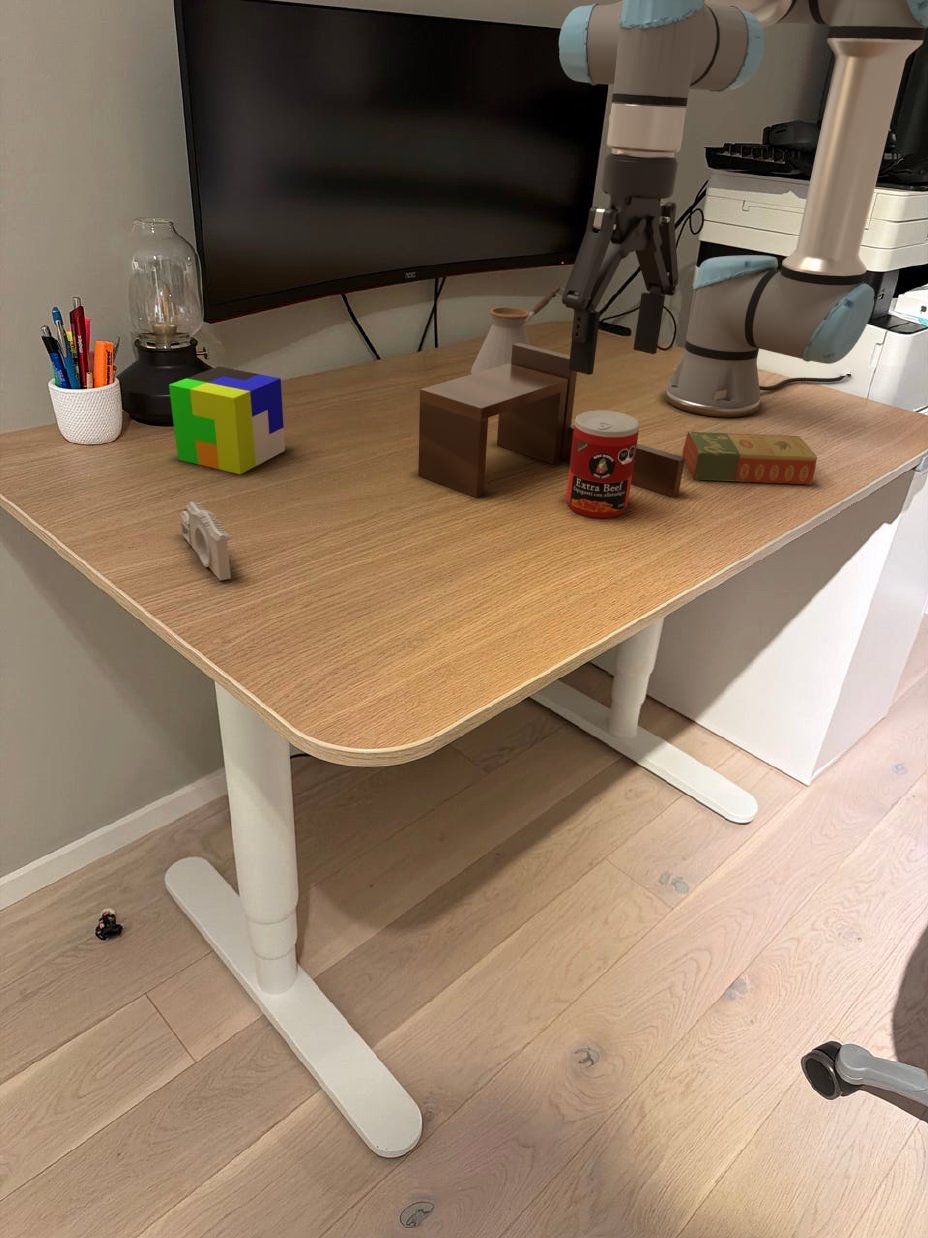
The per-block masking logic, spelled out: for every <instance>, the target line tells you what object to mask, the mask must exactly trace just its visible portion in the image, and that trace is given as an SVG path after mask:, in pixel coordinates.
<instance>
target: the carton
mask: <svg viewBox="0 0 928 1238" xmlns="http://www.w3.org/2000/svg"><path fill="white" fill-rule="evenodd" d="M681 457H683V458H685V461H684V464H686V466H687V468H688V470H689V472H690V474H691V476H692V478H693V479H694V480H696V481H723V482H745V483H746V482H747V483H766V484H767V483H769V484H771V483H772V484H791V485H792V484H793V485H794V484H795V485H811V484H812V483H813V479H814V475H815V472H816V466H817V461H818V457H817V455H816V454H815V452H814V451H813V450H812V449H811V447H810V446H809V445H808V444H807V443H806V442H805V441H804V439H802V437H801V436H798V435H781V434H779V435H778V434H751V433H727V432H704V431H691V430H689V431H687V434H686V437H685V440H684V445H683V449H682V453H681Z"/></svg>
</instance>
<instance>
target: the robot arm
mask: <svg viewBox="0 0 928 1238" xmlns="http://www.w3.org/2000/svg"><path fill="white" fill-rule="evenodd" d="M775 24H806V25H823V26H824V25H827V26H828V25H829V28H828V33H827V40H826V43H827V44H828V46H829V47H830V49H831V50H832V52H833V54H834V57H835V59H834V64H833V69H832V74H831V79H830V83H829V88H828V93H827V96H826V97H827V98H826V102H825V107H824V112H823V118H822V122H821V127H820V132H819V137H818V142H817V147H816V150H815V156H814V161H813V165H812V169H811V170H812V171H811V177H810V180H809V185H808V189H807V195H806V199H805V205H804V208H803V214H802V218H801V224H800V229H799V233H798V239H797V243H796V246H795V247H796V248H795V250H794V251H793V252H792V253H790V255H788V256H786V258H784V259H783V260H782V262H781V268H780V269H778V266H779V263H778V262H779V261H778V258H777V257H775V256H771V255H757V254H756V255H755V254H754V255H753V254H751V255H749V254H747V255H746V254H745V255H727V256H726V255H725V256H717V257H716V256H715V257H711V258H708V259H706V260H704V261H703V262H701V264H700V266H699V267H698V270H697V274H696V279H695V283H694V286H693V296H692V301H691V305H690V306H691V307H690V313H689V318H688V319H689V320H688V325H687V332H686V338H685V345H684V349H683V352H682V353H683V354H682V356H681V357H680V360H679V362H678V363H677V365H676V367H675V369H674V371H673V373H672V375H671V377H670V379H669V381H668V383H667V386H666V391H665V395H664V397H665V401H666V402H667V403H668V404H670V405H671V406H673V407H675V408H677V409H679V410H682V411H685V412H688V413H692V414H697V415H703V416H710V417H718V418H719V417H721V418H723V417H724V418H737V417H738V418H739V417H744V416H745V417H746V416H750V415H752V414H754V413H756V412H758V410H759V408H760V402H761V391H764V392H765V391H766V392H767V391H769V392H770V391H774V390H778V389H779V388H782V387H783V386H785V385H788V384H790V383H791V384H792V383H799V382H802V383H803V382H807V383H809V382H810V383H837V382H840V381H843V380H844V379H845V378H846V376H847V377H852V373H851V374H847V375H846V376H841V375H840V376H837V377H792V378H787V379H784V380H782V381H780V382H779V383H776V384H774V385H770V386H764V385H760V380H759V372H758V356H759V351H760V350H762V351H766V352H767V351H768V352H772V353H776V354H780V355H783V356H789V357H792V358H797V359H801V360H803V361H804V362H807V363H808V362H809V363H810V362H815V363H819V364H825V365H831V364H834V363H837V362H839V361H841V360H843V359H844V358H845V357H846V356H848V354H849V353H850V352H851V351H852V350H853V349H854V347H855V346H856V344H857V343H858V342H859V340H860V338H861V337H862V335H863V334H864V331H865V329H866V328H867V325H868V323H869V321H870V318H871V316H872V313H873V310H874V306H875V290H874V288H873V287H871V286H870V285H869V284H867V283H864V281H865V277H866V273H867V267H866V265H865V264H864V262H863V261H862V260H861V257H860V255H859V254H860V251H861V246H862V243H863V238H864V235H865V230H866V225H867V221H868V218H869V214H870V210H871V205H872V201H873V197H874V192H875V189H876V184H877V181H878V175H879V171H880V167H881V164H882V159H883V155H884V151H885V147H886V143H887V138H888V134H889V130H890V126H891V124H892V118H893V114H894V109H895V106H896V102H897V98H898V93H899V90H900V89H899V88H900V86H901V81H902V77H903V72H904V68H905V64H906V61H907V59H908V58H909V56H910V55H911V54H912V53H914V52H915V51H916V50H917V49H918V48H919V47H921V45H923V42H924V39H925V35H926V30H927V29H928V0H621V1H618V2H614V3H611V4H600V3H593V4H591V5H582V6H581V5H580V6H578V7H575V8H574V9H572V11H570V12H569V14H568V15H567V16H566V18H565V19H564V21H563V23H562V25H561V29H560V33H559V37H558V48H559V51H558V53H559V56H558V57H559V61H560V62H559V63H560V66H561V68H562V70H563V72H564V73H565V75H566V76H567V77H568V78H569V79H571V80H572V81H574V82H580V83H587V84H590V85H592V86H597V85H612V86H613V91H612V92H613V93H612V94H611V102H612V103H611V108H610V114H609V116H608V122H609V123H608V131H607V139H606V146H607V147H608V148H610V149H611V152H609V153H607V154H606V156H604V160H603V168H602V178H601V186H600V188H601V191H602V192H603V193H604V194H606V195H609V198H610V199H609V203H608V207H601V206H600V207H599V206H594V205H593V206H591V207H590V209H589V211H588V218H587V223H586V229H585V231H584V235H583V239H582V241H581V244H580V246H579V249H578V252H577V255H576V258H575V261H574V263H573V266H572V269H571V272H570V275H569V277H568V280H567V283H566V286H565V289H564V290H565V291H564V290H563V295H562V296H563V297H561V303H562V305H564V306H565V307H566V308H568V309H573V318H572V319H573V320H572V329H571V330H572V331H571V344H570V353H569V356H570V361H569V370H572V371H576V372H577V373H579V374H584V375H588V376H590V375H593V374H594V368H595V362H596V361H595V359H596V353H597V344H598V337H599V336H598V335H599V330H600V329H599V328H600V321H601V311H597V308H598V306H599V304H600V303H601V300H602V298H603V296H604V294H605V293H606V291H607V289H608V286H609V284H610V283H611V282H612V279H613V277H614V275H615V273H616V271H617V269H618V268H619V266H620V263H621V262H622V260H623V259H626V258H627V257H629V255H630V253H634V252H635V255H636V259H637V262H638V265H639V269H640V272H641V275H642V279H643V282H644V285H645V289H646V291H647V292H645V291H644V292H641V295H640V302H639V308H638V315H637V322H636V329H635V336H634V342H633V350H634V351H637V352H642V353H646V354H651V355H655V354H657V351H658V344H659V338H660V332H661V327H662V326H661V325H662V319H663V313H664V307H665V301H666V296H670V297H673V296H674V295H675V294H676V290H677V288H676V287H677V286H678V285H679V266H678V254H677V253H678V252H677V251H678V250H677V239H676V238H677V237H676V227H675V225H676V224H675V223H676V213H677V203H676V202H671V201H664V200H663V199H669V198H671V197H672V196H673V194H674V192H675V185H676V180H677V173H678V166H679V161H677V160H678V159H677V158H676V157H674V156H675V153H678V152H679V151H681V150H682V149H681V148H682V142H683V135H684V127H685V121H686V113H687V107H688V99H689V92H690V90H703V91H709V92H717V93H722V92H725V91H733V90H736V89H738V88H740V87H742V86H744V85H745V84H747V82H749V81H750V80H751V78H752V77H753V76H754V75H755V74H756V72H757V70H758V69H759V67H760V64H761V62H762V60H763V56H764V53H765V33H764V28H767V27H770V26H772V25H775Z"/></svg>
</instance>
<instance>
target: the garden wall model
mask: <svg viewBox="0 0 928 1238" xmlns="http://www.w3.org/2000/svg"><path fill="white" fill-rule="evenodd" d="M185 509H186V510H184V511H182V512H181V513H179V514H178V517H179V518H180V519H181V520H179V521H180V529H181V535H182V536H183V538H184V539H185V541H186V542H188V544H189V545H190V546H191V548H192V549H193V550H194V551H195V553H196V554H197V555H198V557H199V560H200V562H201V564H202V565H203V566H204V567H205V568H209V569H210V571H211V572H212V573H213V574H214V575H215V576H216V578H217V579H218V580H219V581H220V582H221V581H225V580H230V579H232V577H231V566H230V557H229V545H228V541H230V540H231V538H232V535H231V534H229V533H228V532H227V531H226V530H225V528H224V527H223V525H222V524H221V523H222V522H221V521H220V520H219V519H218V517H217V516H216V514H214V512H212V511H211V510H206V509H205V508H204V506H203V505H202V503H199V502H194V501H189V504H188V505H186V506H185Z"/></svg>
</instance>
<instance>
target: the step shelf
mask: <svg viewBox="0 0 928 1238" xmlns="http://www.w3.org/2000/svg"><path fill="white" fill-rule="evenodd" d="M569 361H570V354H565V353H562V352H557V351H553V350H549V349H546V348H541V347H538V346H534V345H531V344H530V345H526V344H522V343H516V344H513V345H512V358H511V364H509V363H508V364H505V365H502V366H498V367H495V368H491V369H488V370H484V371H481V372H478V373H474V374H471V373H470V374H468V375H464V376H461V377H457V378H453V379H451V380H447V381H444V382H440V383H437V384H433V385H430V386H426V387H422V388H420V389H419V416H418V417H419V418H418V419H419V420H418V421H419V422H418V423H419V425H418V467H417V469H418V470H417V476H419V477H422V478H424V479H427V480H429V481H432V482H435V483H437V484H439V485H443V486H445V487H448V488H450V489H453V490H456V491H458V492H461V493H464V494H466V495H469V496H472V497H474V498H478V497H479V498H480V497H481V496H483V495H484V494H485V482H486V481H485V480H486V479H485V478H486V463H487V449H488V448H487V447H488V432H489V418H491V417H494V416H498V419H497V421H498V422H497V433H496V434H497V435H496V436H497V437H496V446H498V447H501V448H503V449H506V450H510V451H513V452H516V453H518V454H522V455H524V456H526V457H527V456H528V457H530V458H534V459H537V460H539V461H543V462H545V463H548V464H552V465H555V464H557V463H559V462H560V461H564V462H565V463H567V464H570V459H571V450H572V440H573V431H574V424H572V421H573V413H574V412H573V411H574V403H575V395H576V386H577V385H576V384H577V376H578V372H576V371H572V370H569ZM684 466H685V458H683V457H682V456H680V455H677V454H673V453H669V452H666V451H663V450H660V449H656V448H653V447H651V446H646V445H643V444H640V443H637V447H636V454H635V460H634V467H633V473H632V480H631V485H633V486H637V487H640V488H643V489H645V490H649V491H652V492H655V493H658V494H661V495H663V496H667V497H670V498H674V497H677V496H678V495H679V493H680V489H681V483H682V477H683V473H684Z"/></svg>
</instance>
